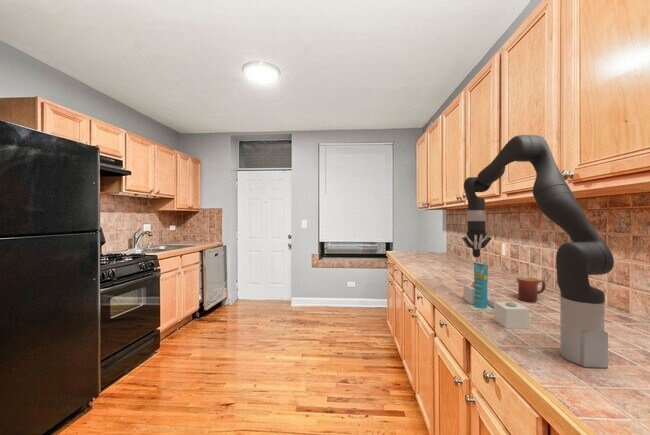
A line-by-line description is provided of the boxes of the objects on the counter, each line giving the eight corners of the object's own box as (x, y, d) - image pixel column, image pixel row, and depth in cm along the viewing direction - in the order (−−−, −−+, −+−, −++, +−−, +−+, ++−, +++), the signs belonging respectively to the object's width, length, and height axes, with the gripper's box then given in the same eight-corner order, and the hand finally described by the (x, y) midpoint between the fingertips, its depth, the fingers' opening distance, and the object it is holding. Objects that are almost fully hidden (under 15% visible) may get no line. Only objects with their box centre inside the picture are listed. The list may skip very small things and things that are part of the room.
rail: (518, 320, 108) (518, 313, 108) (512, 320, 108) (512, 313, 108) (492, 304, 127) (492, 299, 127) (487, 304, 127) (487, 299, 127)
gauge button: (481, 292, 129) (481, 283, 129) (474, 292, 129) (474, 283, 129) (478, 290, 133) (478, 281, 132) (470, 290, 133) (470, 281, 133)
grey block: (489, 304, 127) (489, 289, 127) (471, 304, 127) (471, 289, 127) (480, 299, 135) (480, 284, 135) (463, 299, 135) (463, 284, 135)
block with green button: (529, 328, 100) (529, 307, 100) (506, 328, 101) (506, 307, 101) (515, 320, 108) (515, 300, 108) (494, 319, 109) (494, 300, 109)
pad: (494, 310, 119) (494, 309, 119) (472, 310, 120) (472, 309, 120) (486, 305, 125) (486, 304, 125) (466, 305, 126) (466, 304, 126)
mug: (523, 303, 128) (523, 281, 128) (512, 297, 137) (512, 276, 137) (551, 303, 127) (551, 281, 127) (538, 298, 136) (538, 277, 136)
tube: (469, 305, 125) (469, 262, 125) (477, 303, 127) (476, 261, 127) (485, 310, 118) (485, 265, 118) (492, 308, 120) (492, 264, 120)
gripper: (465, 220, 127) (465, 258, 127) (495, 220, 126) (495, 258, 127) (458, 220, 134) (458, 255, 135) (486, 219, 134) (486, 255, 134)
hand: (476, 257), depth 131 cm, fingers closed
